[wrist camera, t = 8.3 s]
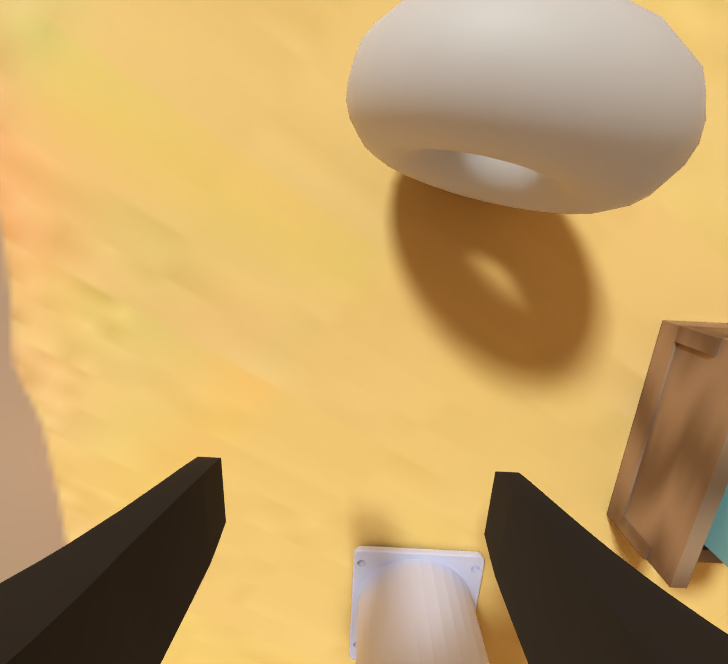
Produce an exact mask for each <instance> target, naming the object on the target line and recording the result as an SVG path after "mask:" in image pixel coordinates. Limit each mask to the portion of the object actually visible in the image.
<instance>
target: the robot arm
mask: <svg viewBox="0 0 728 664" xmlns="http://www.w3.org/2000/svg"><path fill="white" fill-rule="evenodd" d="M225 523H226V517H225V504H224V491H223V478H222V465H221V458H211V457H197V458H195V459H194V460H192V461H191V462H189V463H188V464H186V465H185V466H183V467H182V468H180V469H179V470H178V471H176V472H175V473H173V474H172V475H170V476H169V477H168V478H166V479H165V480H163V481H162V482H161V483H159V484H158V485H156V486H155V487H153V488H152V489H151V490H149V491H148V492H146V493H145V494H143V495H142V496H140V497H139V498H138V499H136V500H135V501H133V502H132V503H130V504H129V505H127V506H126V507H125V508H123V509H122V510H120V511H119V512H117V513H116V514H114V515H112V516H111V517H109V518H108V519H106V520H105V521H103V522H102V523H100V524H98V525H97V526H95V527H94V528H92V529H91V530H89V531H88V532H86V533H85V534H83V535H81V536H80V537H78V538H77V539H75V540H74V541H72V542H71V543H69V544H67V545H66V546H64V547H62V548H61V549H59V550H58V551H56V552H54V553H53V554H51V555H49V556H47V557H46V558H44V559H42V560H41V561H39V562H37V563H35V564H34V565H32V566H30V567H28V568H26V569H25V570H23V571H21V572H19V573H18V574H16V575H14V576H12V577H11V578H9V579H7V580H5V581H3V582H2V583H0V664H161V662H162V660H163V658H164V656H165V654H166V652H167V650H168V648H169V646H170V644H171V642H172V640H173V638H174V636H175V634H176V632H177V630H178V628H179V626H180V624H181V622H182V620H183V618H184V616H185V614H186V612H187V610H188V608H189V606H190V604H191V602H192V600H193V598H194V596H195V594H196V592H197V590H198V588H199V586H200V584H201V582H202V580H203V578H204V576H205V574H206V572H207V569H208V567H209V565H210V563H211V561H212V558H213V556H214V553H215V550H216V548H217V545H218V542H219V539H220V537H221V534H222V531H223V528H224V525H225ZM484 535H485V539H486V543H487V547H488V551H489V555H490V559H491V562H492V566H493V570H494V573H495V577H496V580H497V583H498V585H499V588H500V591H501V593H502V596H503V599H504V601H505V604H506V607H507V609H508V612H509V615H510V617H511V620H512V622H513V625H514V628H515V630H516V633H517V635H518V638H519V641H520V643H521V646H522V648H523V651H524V654H525V656H526V659H527V661H528V664H728V634H727V633H725V632H724V631H722V630H721V629H719V628H717V627H716V626H714V625H713V624H711V623H710V622H709V621H707V620H706V619H704V618H703V617H701V616H700V615H699V614H697V613H696V612H694V611H693V610H691V609H690V608H688V607H687V606H686V605H684V604H683V603H681V602H680V601H678V600H677V599H676V598H674V597H673V596H671V595H670V594H668V593H667V592H666V591H664V590H663V589H661V588H660V587H659V586H657V585H656V584H655V583H653V582H652V581H651V580H649V579H648V578H647V577H645V576H644V575H643V574H641V573H640V572H639V571H637V570H636V569H635V568H634V567H632V566H631V565H630V564H628V563H627V562H626V561H624V560H623V559H622V558H621V557H619V556H618V555H617V554H615V553H614V552H613V551H612V550H610V549H609V548H608V547H607V546H605V545H604V544H603V543H602V542H600V541H599V540H598V539H597V538H596V537H594V536H593V535H592V534H591V533H590V532H588V531H587V530H586V529H585V528H584V527H582V526H581V525H580V524H579V523H578V522H576V521H575V520H574V519H573V518H572V517H571V516H569V515H568V514H567V513H566V512H565V511H564V510H562V509H561V508H560V507H559V506H558V505H557V504H555V503H554V502H553V501H552V500H551V499H550V498H548V497H547V496H546V495H545V494H544V493H543V492H542V491H540V490H539V489H538V488H537V487H536V486H535V485H533V484H532V483H531V482H530V481H529V480H527V479H526V478H525V477H524V476H522V475H521V474H520V473H515V472H495V477H494V483H493V488H492V494H491V500H490V505H489V511H488V517H487V523H486V528H485V534H484ZM360 560H363V561H360ZM484 563H485V562H484V558H483V555H482V554H481V553H480V552H476V551H458V550H438V549H417V548H397V547H377V546H359V547H357V548H356V549H355V550H354V562H353V583H352V604H351V625H350V646H349V656H350V657H351V658H352V659H353V660H356V664H490V663H489V659H488V656H487V652H486V648H485V645H484V641H483V638H482V634H481V630H480V627H479V623H478V619H477V616H476V607H477V602H478V596H479V590H480V585H481V579H482V574H483V568H484ZM473 566H475V567H473Z"/></svg>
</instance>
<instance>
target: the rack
mask: <svg viewBox="0 0 728 664" xmlns="http://www.w3.org/2000/svg"><path fill="white" fill-rule="evenodd" d="M727 484H728V323H707V322H686V321H665V320H663V322H662V325H661V329H660V332H659V336H658V339H657V343H656V346H655V349H654V353H653V356H652V360H651V363H650V367H649V370H648V374H647V377H646V381H645V384H644V388H643V391H642V394H641V398H640V401H639V405H638V408H637V412H636V415H635V419H634V422H633V426H632V429H631V433H630V436H629V440H628V443H627V446H626V450H625V453H624V457H623V460H622V464H621V467H620V471H619V474H618V478H617V481H616V485H615V488H614V492H613V495H612V498H611V502H610V505H609V509H608V512H607V515H608V517H609V518H610V519H611V520H612V521H613V523H614V524H615V525H616V526H617V527H618V529H619V530H620V531H621V532H622V534H623V535H624V536H625V537H626V538H627V540H628V541H629V542H630V543H631V544H632V546H633V547H634V548H635V549H636V550H637V552H638V553H639V554H640V555H641V557H642V558H643V559H647V560H648V562H649V563H650V564H651V565H652V566H653V568H654V569H655V570H656V571H657V572H658V574H659V575H660V576H661V577H662V578H663V580H664V581H665V582H666V583H667V584H668V586H669V587H675V588H687V586H688V584H689V581H690V578H691V576H692V573H693V571H694V568H695V566H696V563H697V562H711V563H723V562H722V561H721V560H720V559H719V558H718V557H717V556H716V555H715V554H714V553H713V552H712V551H711V550H709V549H708V548H707V547H706V546H705V545H704V543H705V540H706V538H707V535H708V533H709V530H710V528H711V525H712V522H713V520H714V517H715V515H716V512H717V510H718V507H719V505H720V502H721V500H722V497H723V494H724V492H725V489H726V487H727Z"/></svg>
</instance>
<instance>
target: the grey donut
mask: <svg viewBox="0 0 728 664" xmlns="http://www.w3.org/2000/svg"><path fill="white" fill-rule="evenodd" d="M346 102H347V107H348V112H349V117H350V120H351V122H352V124H353V126H354V128H355V130H356V132H357V134H358V136H359V137H360V139H361V141H362V143H363V144H364V146H365V147H366V148H367V149H368V150H369V151H370V152H371V153H372V154H373V155H374V156H375V157H377V158H378V159H379V160H381V161H382V162H383V163H385V164H386V165H387V166H389V167H391V168H393V169H394V170H396V171H398V172H400V173H402V174H404V175H406V176H408V177H411V178H413V179H415V180H418V181H420V182H423V183H425V184H428V185H430V186H433V187H436V188H439V189H442V190H445V191H448V192H451V193H454V194H458V195H462V196H465V197H469V198H473V199H476V200H480V201H484V202H489V203H493V204H498V205H503V206H507V207H513V208H519V209H525V210H532V211H538V212H548V213H560V214H592V213H597V212H602V211H607V210H612V209H616V208H621V207H625V206H630V205H632V204H634V203H636V202H638V201H640V200H642V199H644V198H646V197H648V196H649V195H651V194H652V193H653V192H654V191H655V190H656V189H658V188H659V187H660V186H661V185H662V184H663V183H665V182H666V181H667V180H668V179H669V178H670V177H671V176H673V175H674V174H675V173H676V172H677V171H678V170H679V169H681V168H682V167H683V166H684V165H685V164H686V162H687V161H688V159H689V158H690V156H691V155H692V153H693V152H694V150H695V149H696V147H697V146H698V144H699V142H700V138H701V135H702V131H703V128H704V124H705V121H706V87H705V79H704V71H703V66H702V65H701V64H700V62H699V61H698V60H697V59H696V58H695V56H694V55H693V54H692V53H691V51H690V50H689V49H688V48H687V47H686V45H685V44H684V43H683V42H682V41H681V39H680V38H679V37H678V36H677V35H676V33H675V32H674V31H673V30H672V29H671V27H670V26H669V25H668V24H667V23H666V21H665V20H664V19H663V18H662V17H661V16H659V15H657V14H655V13H653V12H651V11H649V10H647V9H645V8H644V7H642V6H640V5H638V4H636V3H634V2H632V1H630V0H403V1H402V2H400V3H399V4H398V5H397V6H395V7H394V8H393V9H392V10H391V11H389V12H388V13H387V14H386V15H384V16H383V17H382V18H381V19H379V20H378V21H377V22H376V23H374V25H373V26H372V27H371V28H370V30H369V31H368V32H367V33H366V35H365V36H364V37H363V38H362V40H361V42H360V45H359V47H358V50H357V52H356V55H355V58H354V60H353V64H352V68H351V72H350V75H349V79H348V86H347V97H346Z"/></svg>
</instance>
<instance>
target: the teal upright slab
mask: <svg viewBox="0 0 728 664" xmlns="http://www.w3.org/2000/svg"><path fill="white" fill-rule="evenodd" d="M704 545H705V546H706V547H707V548H708V549H709V550H711V551H712V552H713V553H714V554H715V555H716V556H717V557H718V558H719V559H720V560H721V561H722V562H723V563H724V564H725V565H726V566H727V567H728V484H727V487H726V489H725V492H724V494H723V497H722V500H721V502H720V505H719V507H718V510H717V512H716V515H715V517H714V520H713V522H712V525H711V528H710V530H709V533H708V535H707V538H706V540H705V543H704Z"/></svg>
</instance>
